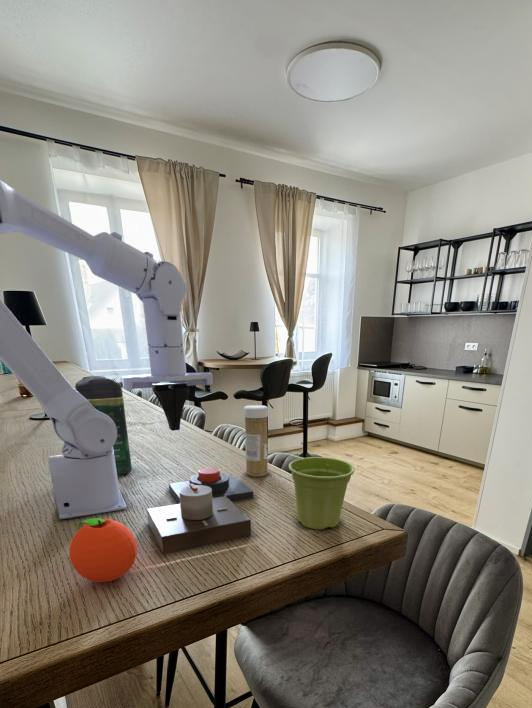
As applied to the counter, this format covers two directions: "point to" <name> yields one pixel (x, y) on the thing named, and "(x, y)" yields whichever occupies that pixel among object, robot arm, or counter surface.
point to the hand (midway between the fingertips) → (174, 429)
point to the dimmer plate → (197, 526)
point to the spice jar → (256, 440)
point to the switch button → (209, 474)
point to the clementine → (102, 550)
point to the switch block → (217, 488)
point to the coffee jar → (109, 413)
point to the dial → (196, 502)
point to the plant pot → (320, 489)
